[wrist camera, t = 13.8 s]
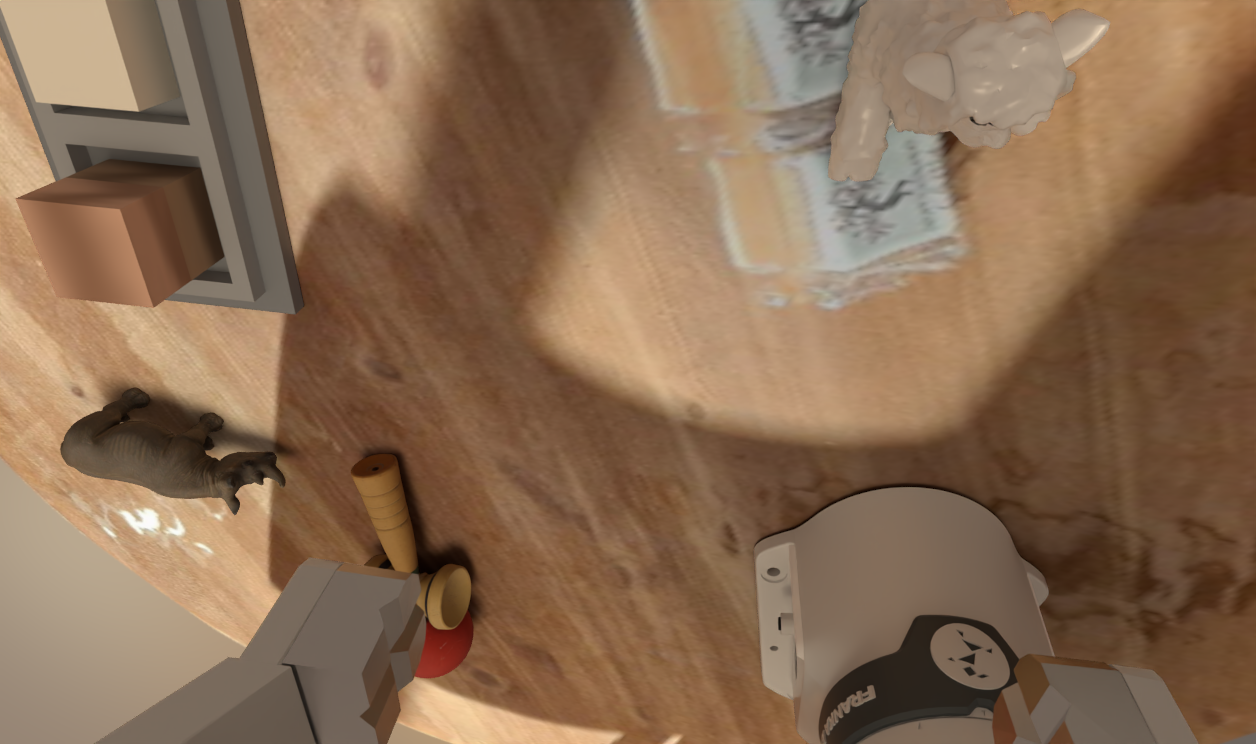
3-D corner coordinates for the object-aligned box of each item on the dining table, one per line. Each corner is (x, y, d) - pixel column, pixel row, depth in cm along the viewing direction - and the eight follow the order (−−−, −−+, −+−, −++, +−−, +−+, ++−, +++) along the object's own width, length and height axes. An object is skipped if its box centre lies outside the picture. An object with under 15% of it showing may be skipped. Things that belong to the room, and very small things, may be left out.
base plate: (303, 306, 43) (268, 340, 40) (110, 285, 44) (59, 317, 40) (217, -99, 32) (157, -99, 29) (-39, -118, 33) (-126, -119, 29)
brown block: (200, 167, 38) (120, 209, 33) (224, 256, 41) (153, 307, 36) (109, 158, 38) (15, 198, 33) (138, 247, 41) (56, 296, 36)
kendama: (329, 446, 51) (398, 642, 58) (295, 496, 45) (377, 707, 52) (439, 429, 51) (495, 628, 58) (419, 478, 45) (484, 692, 52)
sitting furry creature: (828, 182, 35) (867, 294, 26) (785, -6, 31) (810, 40, 21) (1041, 117, 33) (1178, 214, 23) (1025, -97, 29) (1181, -93, 19)
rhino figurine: (305, 480, 51) (259, 543, 46) (109, 421, 50) (40, 480, 45) (308, 436, 49) (260, 498, 44) (102, 374, 48) (29, 430, 43)
